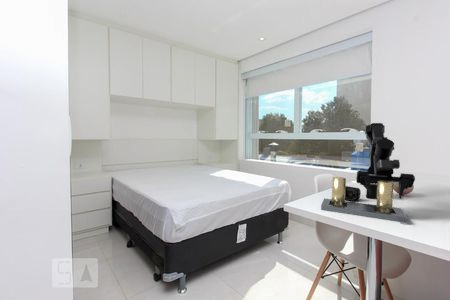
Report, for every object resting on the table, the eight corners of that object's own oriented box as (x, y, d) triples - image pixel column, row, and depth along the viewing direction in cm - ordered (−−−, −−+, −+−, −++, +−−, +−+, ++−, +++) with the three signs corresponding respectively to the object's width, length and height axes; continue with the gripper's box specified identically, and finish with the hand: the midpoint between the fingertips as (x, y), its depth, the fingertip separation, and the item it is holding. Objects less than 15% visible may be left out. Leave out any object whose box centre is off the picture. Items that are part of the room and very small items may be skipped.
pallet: (320, 211, 92) (321, 205, 92) (324, 203, 103) (324, 198, 103) (406, 224, 79) (407, 217, 78) (400, 214, 89) (400, 208, 89)
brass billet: (374, 214, 87) (375, 181, 86) (378, 211, 90) (379, 180, 90) (389, 218, 83) (391, 183, 83) (393, 215, 87) (394, 182, 86)
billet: (331, 209, 94) (332, 178, 93) (331, 205, 98) (332, 176, 97) (344, 211, 91) (345, 179, 90) (344, 207, 96) (345, 177, 95)
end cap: (360, 201, 108) (360, 187, 108) (354, 203, 104) (355, 189, 103) (339, 196, 116) (339, 183, 115) (332, 199, 111) (333, 185, 111)
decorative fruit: (398, 197, 115) (399, 178, 115) (388, 193, 123) (389, 175, 123) (418, 198, 114) (419, 178, 113) (407, 194, 122) (408, 176, 122)
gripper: (358, 151, 93) (358, 182, 84) (415, 153, 85) (422, 187, 75) (356, 167, 101) (356, 197, 91) (408, 171, 92) (414, 204, 83)
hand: (385, 196), depth 85 cm, fingers open, 9 cm apart
